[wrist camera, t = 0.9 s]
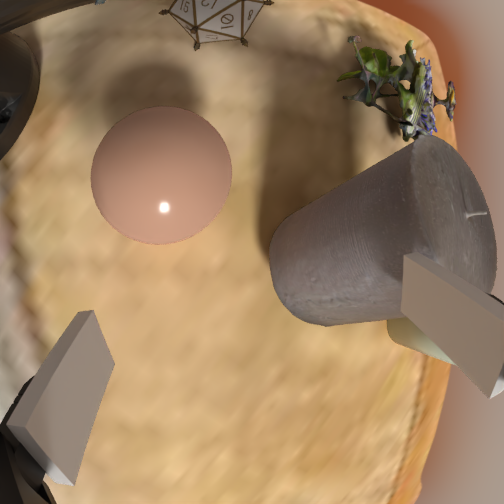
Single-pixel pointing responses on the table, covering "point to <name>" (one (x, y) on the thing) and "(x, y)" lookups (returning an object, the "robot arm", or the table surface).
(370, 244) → the pillar candle
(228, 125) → the table surface
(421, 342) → the pale green cylinder
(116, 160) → the peach round-topped cylinder
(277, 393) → the table surface
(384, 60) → the passion flower
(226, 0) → the game die
